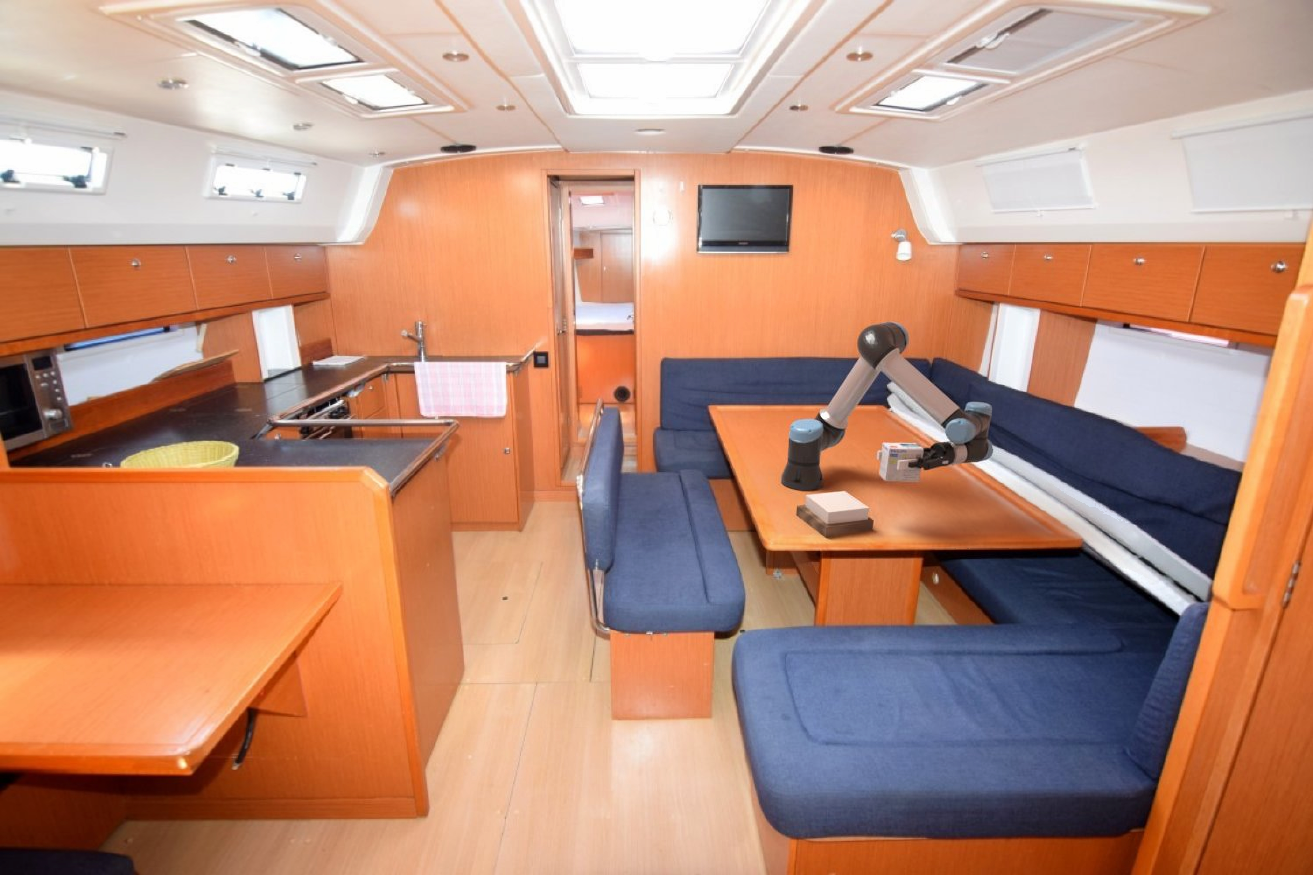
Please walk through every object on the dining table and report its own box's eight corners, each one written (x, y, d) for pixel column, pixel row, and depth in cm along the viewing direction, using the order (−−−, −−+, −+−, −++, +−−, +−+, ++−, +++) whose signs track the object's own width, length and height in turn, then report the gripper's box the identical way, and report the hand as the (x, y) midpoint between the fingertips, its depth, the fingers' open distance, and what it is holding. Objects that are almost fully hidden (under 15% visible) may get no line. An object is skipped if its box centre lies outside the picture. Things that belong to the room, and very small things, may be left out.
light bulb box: (911, 474, 195) (916, 442, 192) (920, 482, 188) (925, 448, 185) (877, 474, 195) (881, 441, 192) (885, 481, 188) (889, 448, 185)
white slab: (805, 506, 200) (806, 495, 199) (843, 502, 204) (844, 490, 203) (827, 524, 187) (828, 512, 186) (867, 519, 191) (869, 507, 190)
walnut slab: (796, 516, 202) (796, 505, 201) (840, 510, 207) (841, 499, 206) (825, 539, 187) (826, 527, 185) (872, 532, 192) (873, 520, 191)
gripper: (971, 476, 187) (910, 484, 180) (921, 454, 206) (864, 460, 199) (975, 452, 184) (913, 459, 178) (924, 432, 204) (867, 438, 197)
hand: (887, 460), depth 189 cm, fingers closed on light bulb box, 9 cm apart
